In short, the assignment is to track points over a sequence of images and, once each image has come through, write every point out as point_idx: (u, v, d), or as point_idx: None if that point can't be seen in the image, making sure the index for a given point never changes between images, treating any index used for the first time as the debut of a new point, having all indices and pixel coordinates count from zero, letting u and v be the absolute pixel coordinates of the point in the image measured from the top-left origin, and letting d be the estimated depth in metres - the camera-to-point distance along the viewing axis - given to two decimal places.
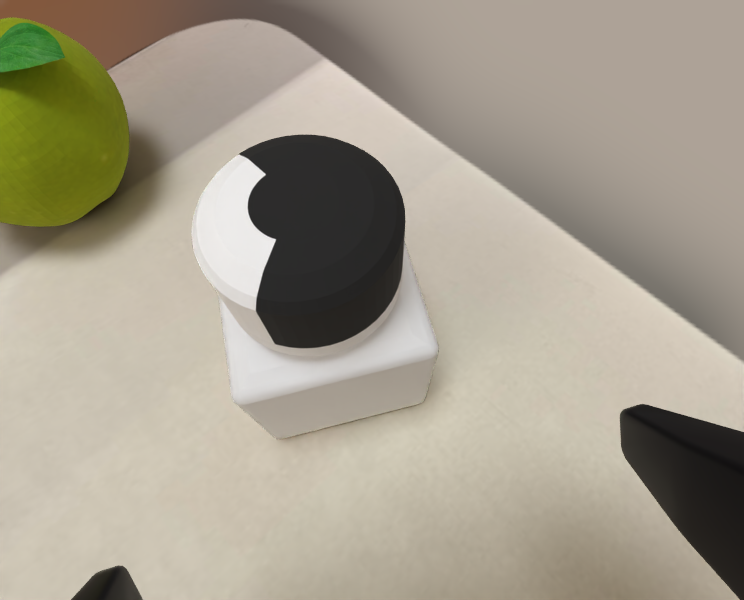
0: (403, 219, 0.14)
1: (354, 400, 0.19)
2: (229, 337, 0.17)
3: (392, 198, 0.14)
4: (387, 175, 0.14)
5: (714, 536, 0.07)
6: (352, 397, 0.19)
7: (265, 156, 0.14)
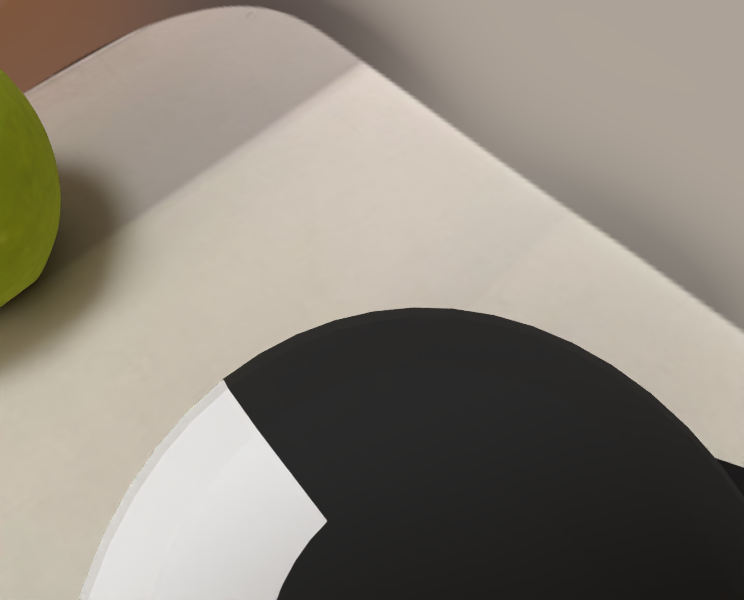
0: None
1: None
2: None
3: None
4: (729, 482, 0.04)
5: None
6: None
7: (319, 426, 0.04)
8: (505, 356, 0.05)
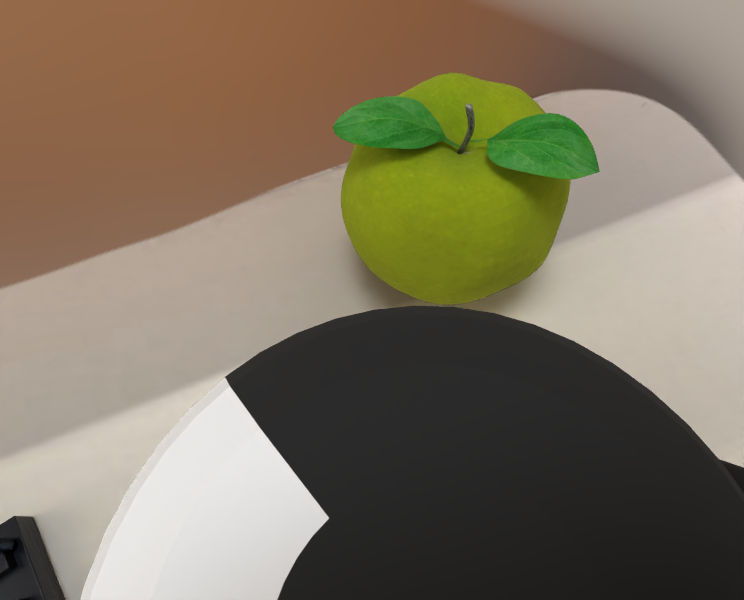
0: None
1: None
2: None
3: None
4: (730, 479, 0.04)
5: None
6: None
7: (321, 423, 0.04)
8: (506, 354, 0.05)
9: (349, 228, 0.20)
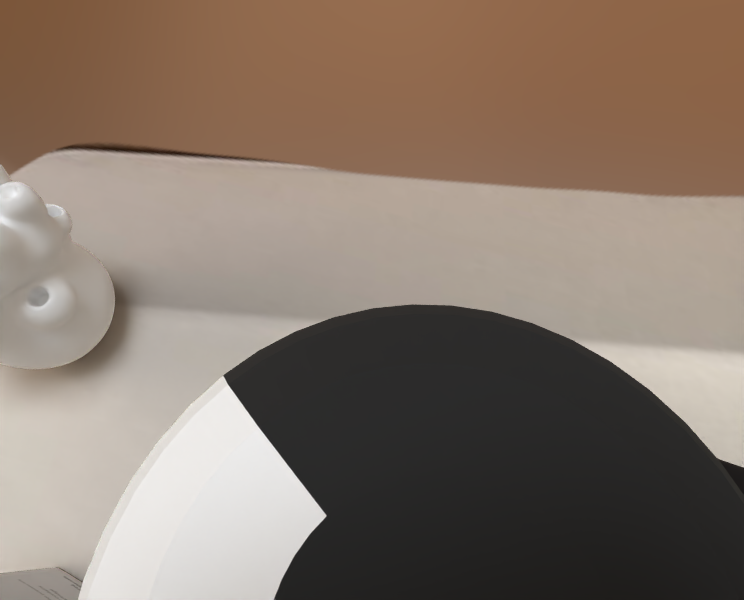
0: None
1: None
2: None
3: None
4: (726, 476, 0.04)
5: None
6: None
7: (319, 421, 0.04)
8: (504, 352, 0.05)
9: None
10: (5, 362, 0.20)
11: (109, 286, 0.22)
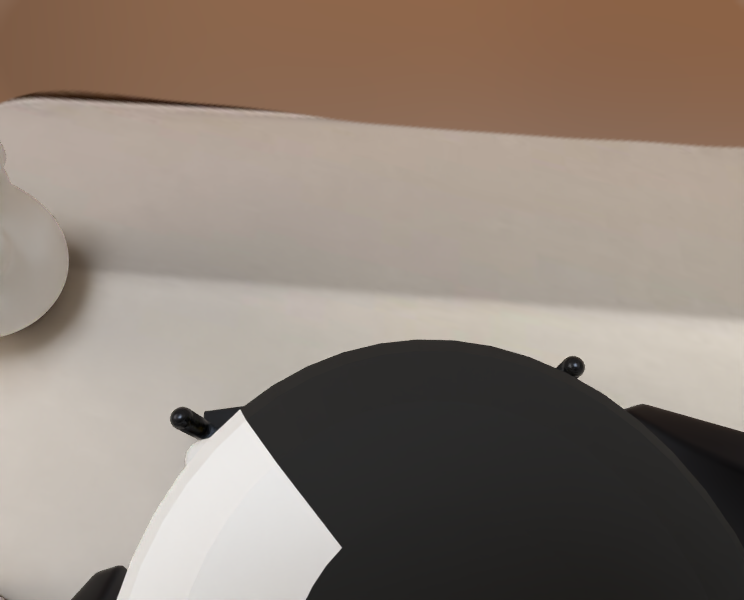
0: None
1: None
2: None
3: None
4: (711, 506, 0.05)
5: None
6: None
7: (333, 458, 0.04)
8: (503, 389, 0.05)
9: None
10: None
11: (59, 241, 0.18)
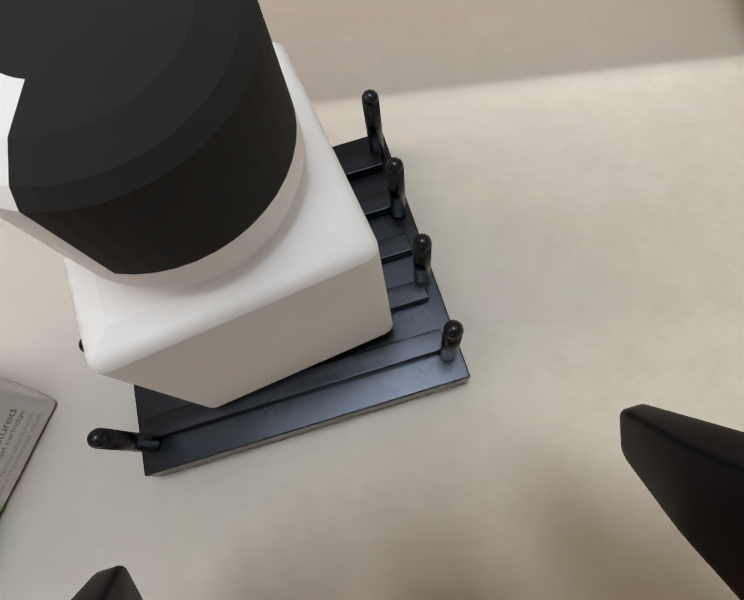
0: (257, 21, 0.08)
1: (287, 341, 0.14)
2: (74, 281, 0.12)
3: None
4: None
5: (714, 536, 0.07)
6: (281, 337, 0.14)
7: None
8: None
9: None
10: None
11: None
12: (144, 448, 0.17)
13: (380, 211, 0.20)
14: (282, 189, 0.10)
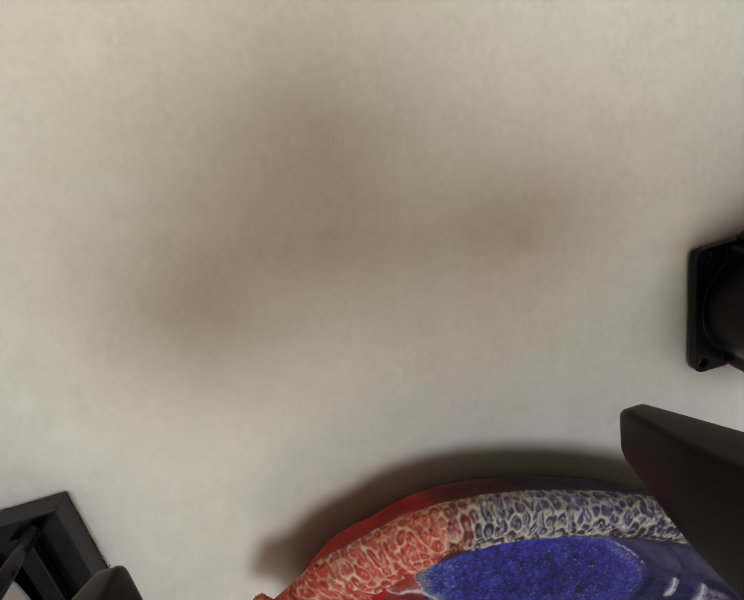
0: None
1: None
2: None
3: None
4: None
5: (714, 536, 0.07)
6: None
7: None
8: None
9: None
10: None
11: None
12: None
13: None
14: None
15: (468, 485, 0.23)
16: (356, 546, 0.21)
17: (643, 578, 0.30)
